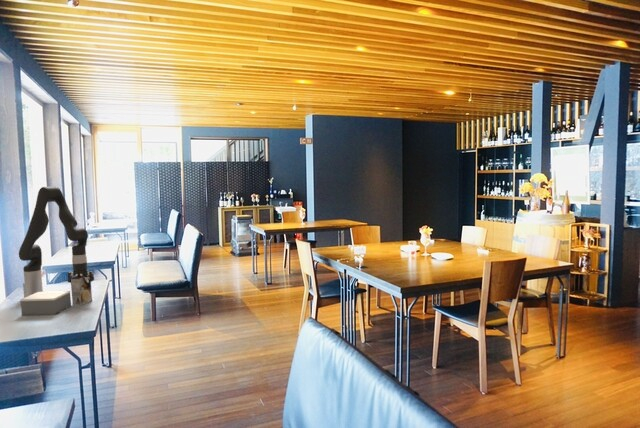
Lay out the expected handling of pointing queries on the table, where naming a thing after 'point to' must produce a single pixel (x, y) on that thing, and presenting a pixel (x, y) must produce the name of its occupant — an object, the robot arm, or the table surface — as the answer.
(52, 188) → the robot arm
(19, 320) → the table surface
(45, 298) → the lid
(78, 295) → the coffee box
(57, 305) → the box
